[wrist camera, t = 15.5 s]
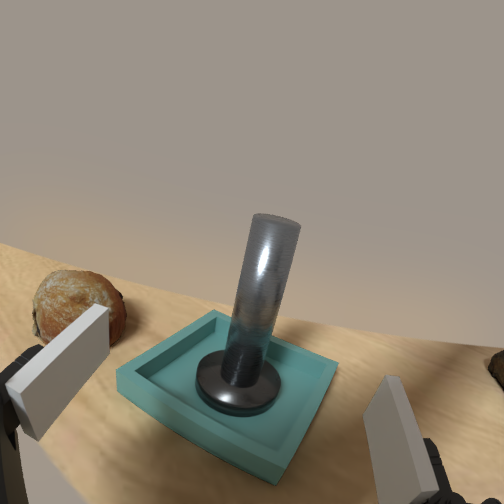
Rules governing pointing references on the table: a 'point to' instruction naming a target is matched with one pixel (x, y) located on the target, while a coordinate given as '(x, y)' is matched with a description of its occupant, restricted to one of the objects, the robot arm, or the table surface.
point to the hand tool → (497, 367)
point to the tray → (220, 425)
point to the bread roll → (75, 303)
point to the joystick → (251, 325)
